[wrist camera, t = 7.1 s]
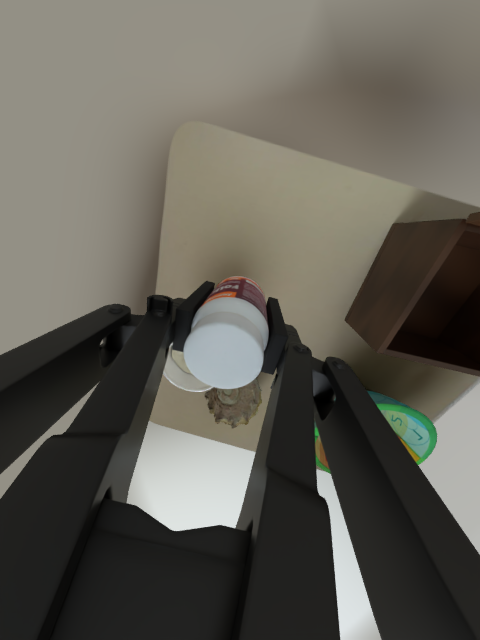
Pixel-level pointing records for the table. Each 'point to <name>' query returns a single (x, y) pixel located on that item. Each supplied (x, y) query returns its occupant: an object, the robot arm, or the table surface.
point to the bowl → (396, 429)
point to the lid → (474, 219)
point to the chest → (424, 295)
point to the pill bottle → (229, 335)
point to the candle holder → (182, 373)
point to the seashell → (234, 403)
